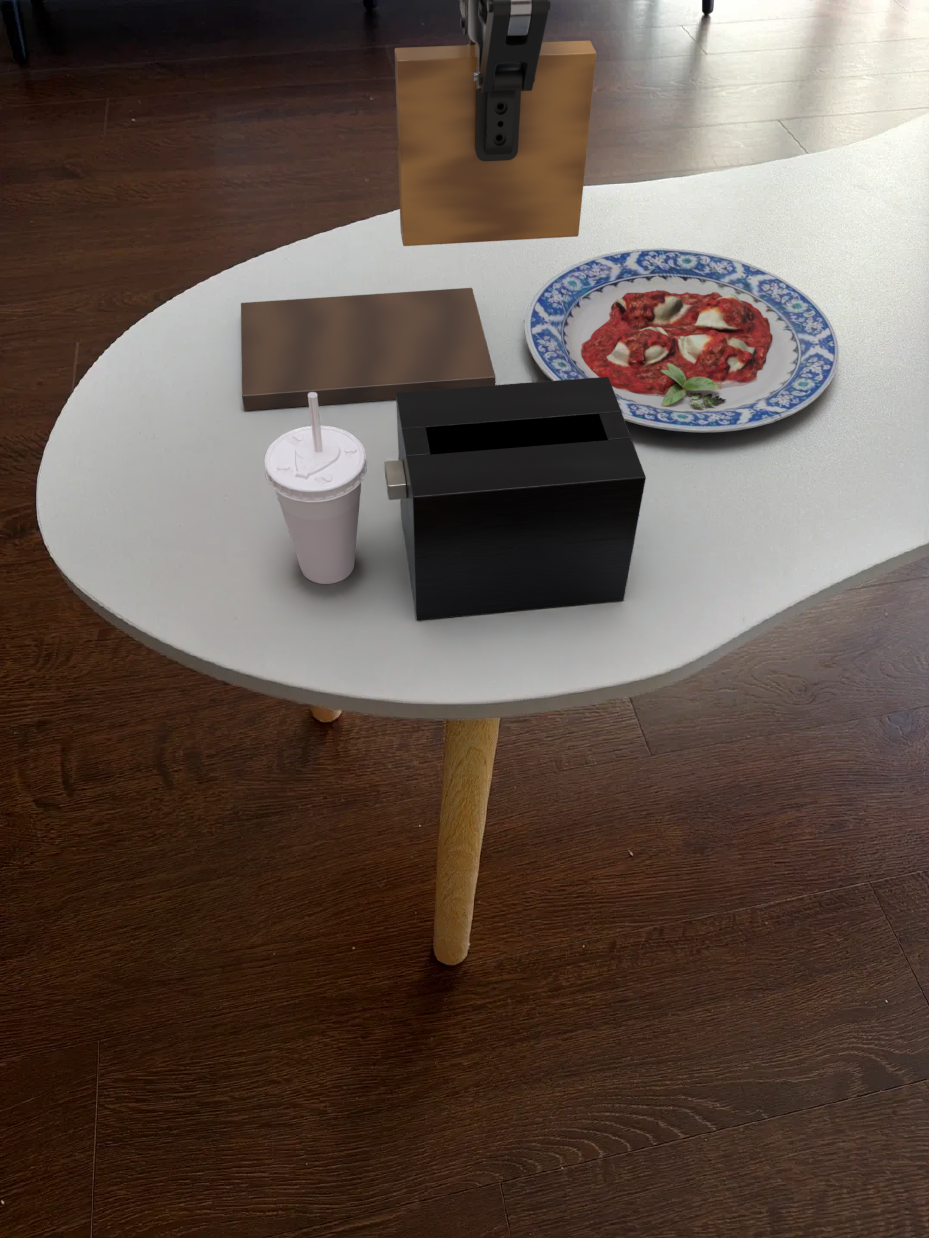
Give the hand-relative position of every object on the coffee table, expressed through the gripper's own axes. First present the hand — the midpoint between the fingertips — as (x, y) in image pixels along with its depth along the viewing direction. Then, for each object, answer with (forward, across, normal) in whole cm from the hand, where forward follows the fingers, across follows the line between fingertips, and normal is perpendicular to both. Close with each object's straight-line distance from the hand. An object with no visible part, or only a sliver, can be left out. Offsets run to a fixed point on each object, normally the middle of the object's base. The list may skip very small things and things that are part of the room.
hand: (492, 146), depth 58 cm
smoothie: (+27, +4, -11) cm, 30 cm away
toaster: (+27, +4, +1) cm, 27 cm away
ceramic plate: (+27, -18, +19) cm, 38 cm away
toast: (+5, 0, 0) cm, 5 cm away
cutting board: (+27, -21, -7) cm, 35 cm away
